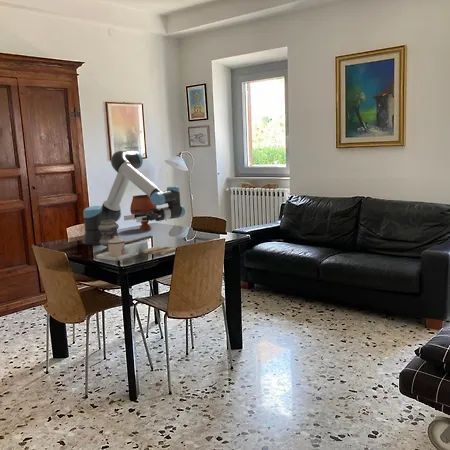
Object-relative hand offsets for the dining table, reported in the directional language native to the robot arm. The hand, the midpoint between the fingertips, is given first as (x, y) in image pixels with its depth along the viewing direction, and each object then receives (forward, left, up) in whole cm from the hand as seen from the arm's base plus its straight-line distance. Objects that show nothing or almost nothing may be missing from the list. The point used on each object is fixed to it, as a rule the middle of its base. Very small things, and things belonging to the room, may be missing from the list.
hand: (130, 219), depth 276 cm
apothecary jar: (-19, +1, -20) cm, 28 cm away
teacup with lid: (-3, -9, -20) cm, 22 cm away
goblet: (-51, +65, -20) cm, 85 cm away
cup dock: (-6, -10, -20) cm, 23 cm away
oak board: (+12, +10, -20) cm, 25 cm away
